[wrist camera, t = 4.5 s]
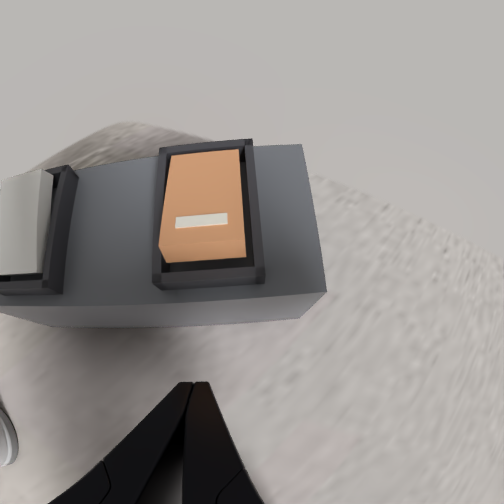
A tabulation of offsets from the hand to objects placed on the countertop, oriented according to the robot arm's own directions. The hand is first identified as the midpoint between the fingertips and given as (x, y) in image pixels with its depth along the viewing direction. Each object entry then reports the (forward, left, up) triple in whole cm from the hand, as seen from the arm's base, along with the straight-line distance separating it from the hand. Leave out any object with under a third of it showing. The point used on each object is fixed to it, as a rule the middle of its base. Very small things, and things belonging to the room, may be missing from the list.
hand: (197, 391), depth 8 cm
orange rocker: (+7, 0, -3) cm, 8 cm away
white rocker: (+7, +10, -3) cm, 13 cm away
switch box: (+7, +5, -14) cm, 16 cm away
